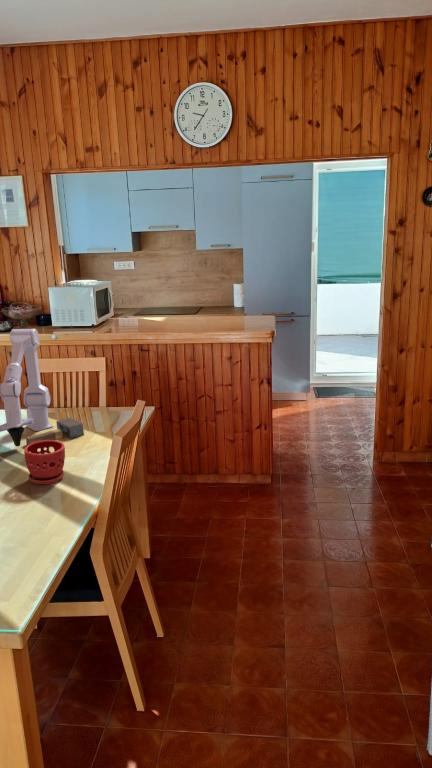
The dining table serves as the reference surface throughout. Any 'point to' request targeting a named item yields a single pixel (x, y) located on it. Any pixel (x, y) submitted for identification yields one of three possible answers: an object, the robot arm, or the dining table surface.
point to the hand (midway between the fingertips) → (17, 445)
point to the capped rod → (45, 436)
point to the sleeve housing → (70, 427)
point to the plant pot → (45, 461)
